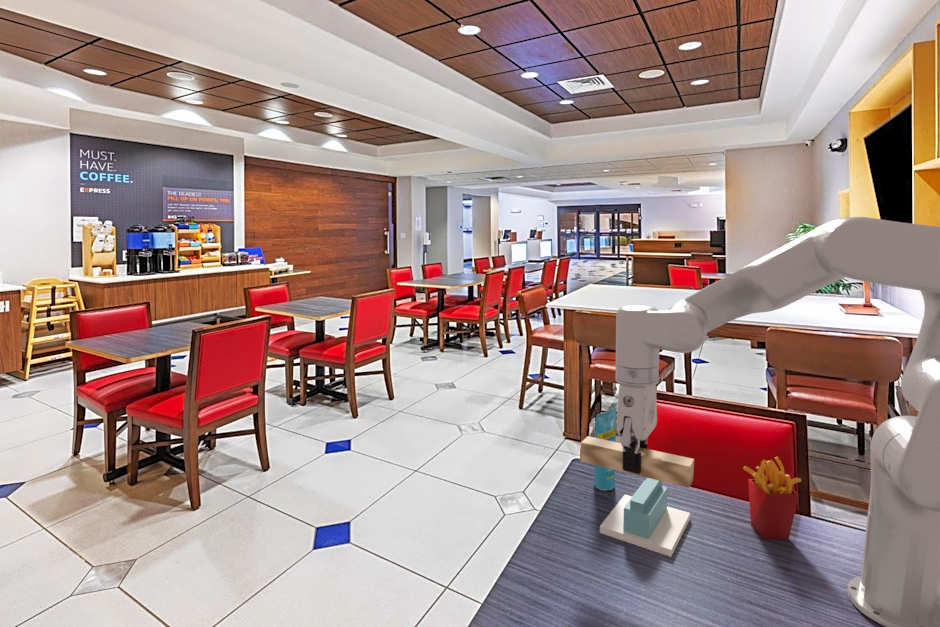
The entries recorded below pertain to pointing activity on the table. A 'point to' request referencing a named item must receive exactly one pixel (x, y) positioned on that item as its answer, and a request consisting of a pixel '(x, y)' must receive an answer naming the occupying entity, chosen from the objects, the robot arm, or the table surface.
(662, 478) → the oak bar
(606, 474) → the tube
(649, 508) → the ridge stand
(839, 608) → the table surface
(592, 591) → the table surface
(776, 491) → the french fries
